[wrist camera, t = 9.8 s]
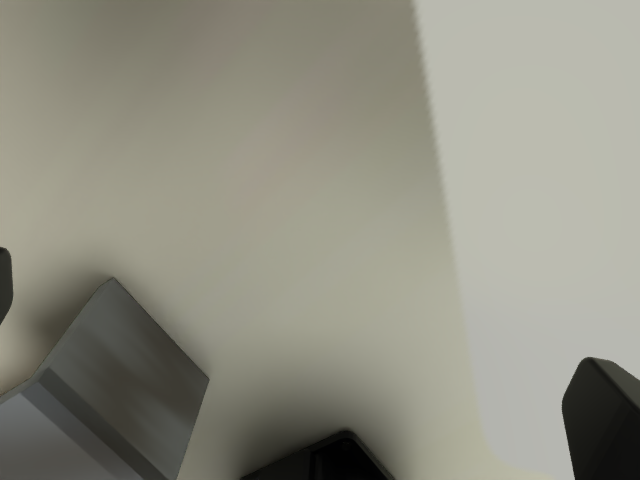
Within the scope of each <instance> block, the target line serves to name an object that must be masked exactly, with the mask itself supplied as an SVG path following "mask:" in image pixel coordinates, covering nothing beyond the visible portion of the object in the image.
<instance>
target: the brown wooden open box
mask: <svg viewBox="0 0 640 480" xmlns="http://www.w3.org/2000/svg"><path fill="white" fill-rule="evenodd" d="M208 383H209V379H208V378H207V377H206V376H205V375H204V374H203V373H202V372H201V371H200V369H199V368H198V367H197V366H196V365H195V364H194V363H193V362H192V361H191V360H190V359H189V358H188V357H187V356H186V354H185V353H184V352H183V351H182V350H181V349H180V348H179V347H178V346H177V345H176V344H175V343H174V342H173V341H172V340H171V338H170V337H169V336H168V335H167V334H166V333H165V332H164V331H163V330H162V329H161V328H160V327H159V326H158V325H157V323H156V322H155V321H154V320H153V319H152V318H151V317H150V316H149V315H148V314H147V313H146V312H145V311H144V310H143V309H142V307H141V306H140V305H139V304H138V303H137V302H136V301H135V300H134V299H133V298H132V297H131V296H130V295H129V294H128V292H127V291H126V290H125V289H124V288H123V287H122V286H121V285H120V284H119V283H118V282H117V281H116V280H115V279H114V278H112V279H111V280H109V281H107V282H106V283H104V284H103V285H101V286H100V287H99V288H98V289H97V290H96V292H95V293H94V294H93V296H92V297H91V298H90V300H89V301H88V302H87V304H86V305H85V306H84V308H83V309H82V310H81V312H80V313H79V314H78V316H77V317H76V318H75V320H74V321H73V322H72V324H71V325H70V326H69V328H68V329H67V330H66V332H65V333H64V334H63V336H62V337H61V338H60V340H59V341H58V342H57V344H56V345H55V346H54V348H53V349H52V350H51V352H50V353H49V354H48V356H47V357H46V358H45V360H44V361H43V362H42V364H41V365H40V366H39V368H38V369H37V370H36V372H35V373H34V374H33V376H32V377H31V378H30V379H28V380H26V381H25V382H23V383H22V384H20V385H18V386H17V387H15V388H13V389H12V390H10V391H9V392H7V393H5V394H4V395H2V396H0V480H176V479H177V476H178V473H179V470H180V467H181V464H182V461H183V458H184V455H185V452H186V449H187V446H188V443H189V440H190V437H191V434H192V431H193V428H194V425H195V422H196V419H197V416H198V413H199V410H200V407H201V404H202V401H203V398H204V395H205V392H206V389H207V386H208Z"/></svg>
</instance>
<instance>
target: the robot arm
mask: <svg viewBox="0 0 640 480" xmlns="http://www.w3.org/2000/svg"><path fill="white" fill-rule="evenodd" d="M12 301H13V280H12V262H11V255H10V253H9V251H8V250H7V249H6V248H3V247H0V325H1V323H2V321H3V320H4V318H5V316H6V315H7V313H8V311H9V309H10V307H11V304H12ZM562 414H563V419H564V425H565V430H566V435H567V440H568V446H569V451H570V456H571V461H572V466H573V472H574V477H575V480H640V380H638V379H637V378H635V377H634V376H633V375H631V374H630V373H628V372H627V371H625V370H624V369H623V368H621V367H620V366H619V365H617V364H616V363H614V362H612V361H609V360H604V359H598V358H593V357H587V358H584V359H583V360H582V361H581V362H580V364H579V365H578V367H577V369H576V372H575V374H574V375H573V378H572V379H571V381H570V384H569V386H568V388H567V390H566V392H565V394H564V397H563V400H562ZM343 442H349V443H348V444H346V443H343ZM240 480H394V479H393V478H392V477H391V476H390V474H389V473H388V472H387V471H386V470H385V469H384V467H383V466H382V465H381V464H380V463H379V461H378V460H377V459H376V458H375V457H374V456H373V454H372V453H371V452H370V451H369V450H368V449H367V447H366V446H365V445H364V444H363V443H362V441H361V440H360V439H359V438H358V437H357V436H356V435H355V434H354V433H353V432H350V431H342V432H339V433H337V434H335V435H333V436H331V437H329V438H327V439H325V440H322V441H320V442H318V443H316V444H314V445H312V446H310V447H308V448H305V449H303V450H301V451H299V452H297V453H295V454H293V455H290V456H288V457H286V458H284V459H282V460H280V461H278V462H276V463H273V464H271V465H269V466H267V467H265V468H263V469H261V470H259V471H256V472H254V473H252V474H250V475H248V476H246V477H244V478H242V479H240Z"/></svg>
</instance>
